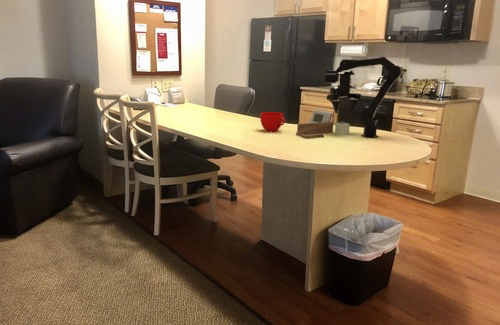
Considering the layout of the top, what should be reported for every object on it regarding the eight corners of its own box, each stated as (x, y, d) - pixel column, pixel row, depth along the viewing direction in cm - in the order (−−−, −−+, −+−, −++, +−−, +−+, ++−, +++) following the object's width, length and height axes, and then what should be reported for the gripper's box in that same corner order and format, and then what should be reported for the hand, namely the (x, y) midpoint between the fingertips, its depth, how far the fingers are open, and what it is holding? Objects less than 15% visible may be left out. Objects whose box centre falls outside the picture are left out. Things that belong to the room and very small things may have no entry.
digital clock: (307, 126, 237) (308, 109, 234) (321, 126, 240) (321, 108, 237) (319, 131, 222) (320, 113, 219) (334, 130, 225) (335, 112, 222)
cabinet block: (348, 135, 213) (349, 122, 211) (341, 135, 211) (342, 123, 209) (342, 133, 218) (343, 121, 217) (334, 133, 216) (335, 121, 215)
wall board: (342, 135, 211) (343, 124, 209) (305, 138, 203) (306, 127, 201) (331, 132, 220) (331, 121, 219) (295, 135, 212) (296, 124, 210)
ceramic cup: (275, 134, 213) (275, 116, 210) (255, 130, 225) (255, 113, 223) (292, 132, 220) (292, 114, 218) (272, 128, 233) (272, 111, 230)
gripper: (350, 82, 218) (348, 110, 222) (321, 83, 211) (320, 111, 215) (362, 83, 208) (360, 112, 212) (333, 84, 201) (331, 114, 205)
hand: (343, 112), depth 212 cm, fingers open, 9 cm apart
